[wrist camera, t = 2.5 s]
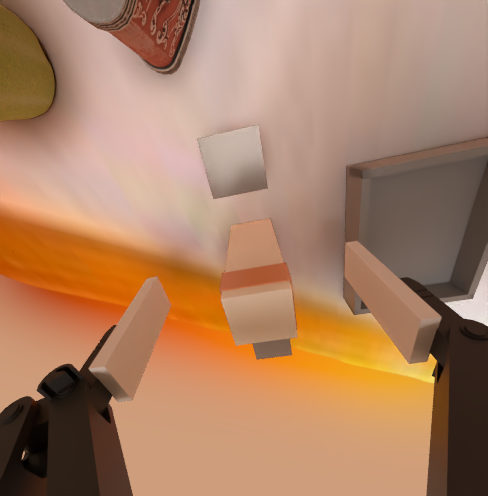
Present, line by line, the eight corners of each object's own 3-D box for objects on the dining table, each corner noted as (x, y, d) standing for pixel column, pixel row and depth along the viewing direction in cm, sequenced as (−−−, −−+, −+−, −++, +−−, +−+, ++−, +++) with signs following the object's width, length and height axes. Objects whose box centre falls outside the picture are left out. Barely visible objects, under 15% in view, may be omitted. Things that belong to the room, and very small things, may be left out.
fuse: (271, 217, 19) (293, 286, 10) (276, 252, 21) (299, 338, 12) (230, 224, 20) (218, 297, 11) (238, 259, 21) (234, 346, 12)
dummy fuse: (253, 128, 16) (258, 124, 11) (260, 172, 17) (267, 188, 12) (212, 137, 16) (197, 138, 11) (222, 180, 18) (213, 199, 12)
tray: (495, 135, 16) (537, 135, 14) (449, 281, 22) (472, 298, 20) (346, 166, 17) (362, 170, 15) (343, 297, 24) (354, 314, 21)
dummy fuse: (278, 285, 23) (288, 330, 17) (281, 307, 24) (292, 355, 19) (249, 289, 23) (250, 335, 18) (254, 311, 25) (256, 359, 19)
